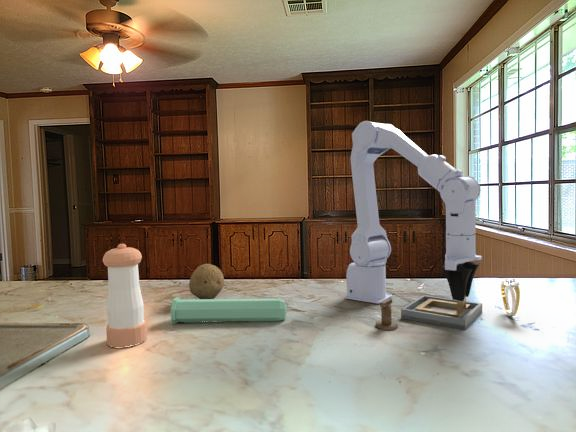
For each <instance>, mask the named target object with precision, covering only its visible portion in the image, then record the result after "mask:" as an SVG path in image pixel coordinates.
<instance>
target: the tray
mask: <svg viewBox="0 0 576 432" xmlns="http://www.w3.org/2000/svg"><path fill="white" fill-rule="evenodd" d="M428 299H435V300H442V301H449V302H456V303H457V300H453V298H444V297H438V296H432V295H421V296H420V297H418V298H416V299H415V300H413V301H412V302H410V303H408V304H407V305H405V306H403V307H402V308H401V309H400V317H401V318H400V319H404V320H409V321H415V322H420V323H426V324H429V325H430V324H432V325H437V326H441V327H442V326H443V327H447V328H453V329H458V330H463V331H466V330H467V329H468V328H469V327H470V326H471V325H472V324H473V323H474V321H476V320H477V318H479V317H480V316H481V315H482V313H483V303H482V302H481V303H480V302H475V301H474V302H473V301H468V300H466V304H470V311H469V312H468V313H466V314H465V315H464V316H463V317H462V318H457V317H451V316H445V315H439V314H433V313H427V312H421V311H415V308H416V307H418V306H419V305H421V304H422V303H424V302H425V301H427V300H428ZM429 309H433V310H439V311H445V312H451V313H454V312H455V311H457V309H451V308H444V307H438V306H432V307H430V308H429Z"/></svg>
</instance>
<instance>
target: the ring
mask: <svg viewBox="0 0 576 432" xmlns="http://www.w3.org/2000/svg"><path fill="white" fill-rule="evenodd" d="M519 285H520V283H519V282H517V281H516V280H515V278H513V279H509V278H506V279H505V281H501V284H500V289H501V291H500V292H501V297H502V302H503V306H504V310H505V312H506V315H507V317H514V316H516V315H517V313H518V309H519V306H520V297H521V296H520V295H521V294H520V293H521V292H520V286H519ZM513 288H514V289H513ZM509 292H510V295H511V301H512V305H511V308H510V305H509V303H510V302H509Z"/></svg>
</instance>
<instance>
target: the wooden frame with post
mask: <svg viewBox="0 0 576 432" xmlns="http://www.w3.org/2000/svg"><path fill="white" fill-rule="evenodd" d="M466 301H467V297H466V293H465V298H464V300H463V301H458V300H457V303H456V302H449V301H442V300H435V299H428V300H427V301H425V302H424V303H422V304H421V305H419V306H418V307H416V308H415V311H421V312H427V313H433V314H439V315H445V316H451V317H457V318H462V317H463V316H464V315H465V314H466V313H468V312H469V311H470V304H466ZM432 306H438V307H444V308H451V309H457V311H455V312H454V313H451V312H445V311H439V310H433V309H429V308H430V307H432Z"/></svg>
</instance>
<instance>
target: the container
mask: <svg viewBox="0 0 576 432" xmlns="http://www.w3.org/2000/svg"><path fill="white" fill-rule="evenodd" d="M287 307H288V306H287V304H286V300H284V299H283V298H214V299H199V298H196V299H193V298H192V299H191V298H190V299H181V298H180V297H179V296H177V297H175V298H173V299H172V302H171V306H170V321H171V323H172V324H173V323H177V322H184V323H207V322H206V321H249V322H281V321H280V320H282V321H285V319H286V316H287V312H288V308H287ZM202 321H203V322H202ZM204 321H205V322H204ZM177 324H178V323H177Z"/></svg>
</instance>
